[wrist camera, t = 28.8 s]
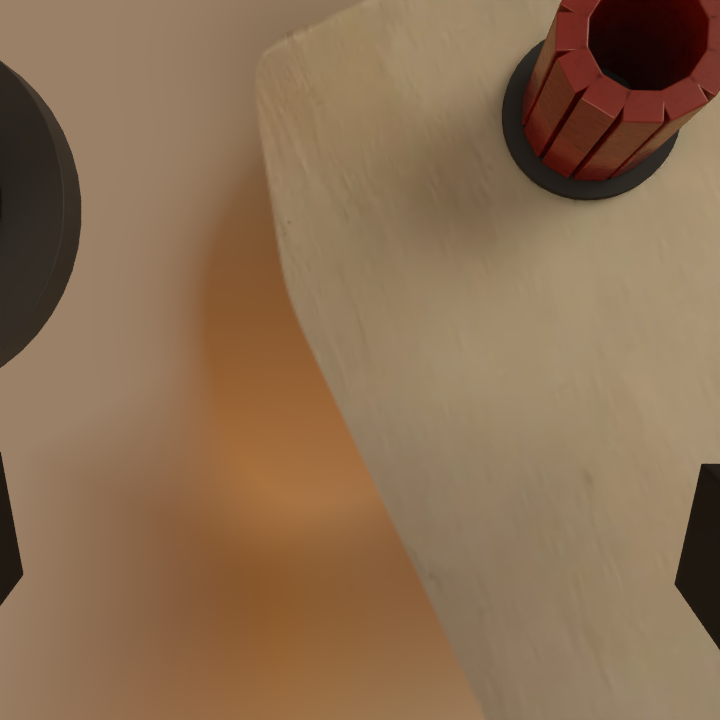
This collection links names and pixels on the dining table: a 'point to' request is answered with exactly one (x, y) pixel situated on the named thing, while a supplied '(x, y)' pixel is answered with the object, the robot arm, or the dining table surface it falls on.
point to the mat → (534, 165)
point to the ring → (607, 97)
